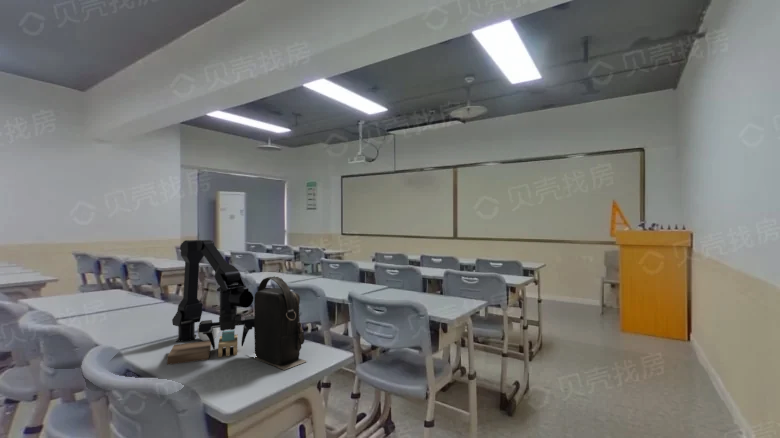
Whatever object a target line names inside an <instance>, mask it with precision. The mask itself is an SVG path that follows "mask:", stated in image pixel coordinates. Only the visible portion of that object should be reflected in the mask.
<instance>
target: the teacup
mask: <svg viewBox="0 0 780 438" xmlns="http://www.w3.org/2000/svg"><path fill="white" fill-rule="evenodd" d="M196 329H197V336H198V339H199V340H201V342H204V341H210V340H209V338H208V336H207V335H206V334H203V332H199V325H198V326H197V328H196ZM213 331H214V340H216V339H217V337H218V336H219V333H221V332H222V331H221V330H220V327H218V328H213Z"/></svg>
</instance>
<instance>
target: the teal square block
mask: <svg viewBox="0 0 780 438" xmlns="http://www.w3.org/2000/svg"><path fill="white" fill-rule="evenodd" d="M221 332H222V333H221V336H222V341H231V340H234V337H235V335H236V334H235V329H233V330H225V331H221Z"/></svg>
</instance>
